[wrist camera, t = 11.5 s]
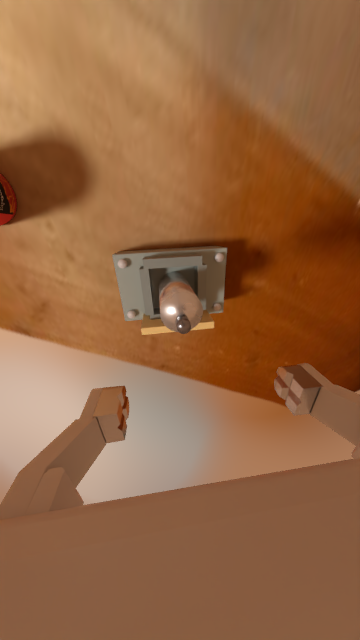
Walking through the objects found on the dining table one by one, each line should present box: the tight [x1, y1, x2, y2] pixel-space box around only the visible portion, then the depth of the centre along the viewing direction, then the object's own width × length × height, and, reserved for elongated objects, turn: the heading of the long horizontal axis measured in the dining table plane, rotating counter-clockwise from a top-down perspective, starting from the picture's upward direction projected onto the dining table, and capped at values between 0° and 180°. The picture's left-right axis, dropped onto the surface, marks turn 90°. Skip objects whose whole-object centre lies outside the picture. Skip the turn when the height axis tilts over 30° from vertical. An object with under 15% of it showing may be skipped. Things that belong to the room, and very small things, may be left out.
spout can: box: [159, 272, 203, 334], centre depth 22 cm, size 4×4×11 cm
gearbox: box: [112, 246, 227, 335], centre depth 27 cm, size 10×16×10 cm, turn 93°
